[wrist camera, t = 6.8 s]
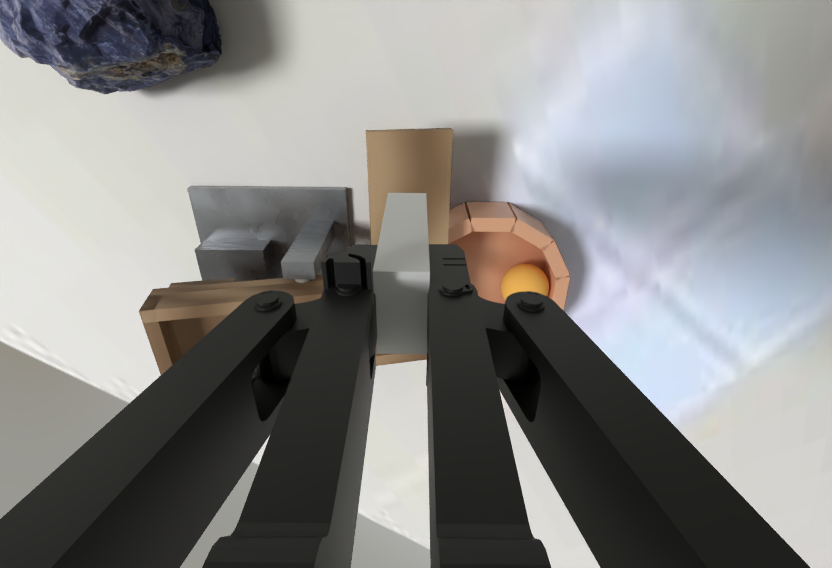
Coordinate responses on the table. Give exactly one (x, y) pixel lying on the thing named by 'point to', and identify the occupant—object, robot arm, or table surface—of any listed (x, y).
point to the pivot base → (268, 230)
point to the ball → (524, 280)
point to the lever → (215, 299)
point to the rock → (112, 39)
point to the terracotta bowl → (505, 247)
